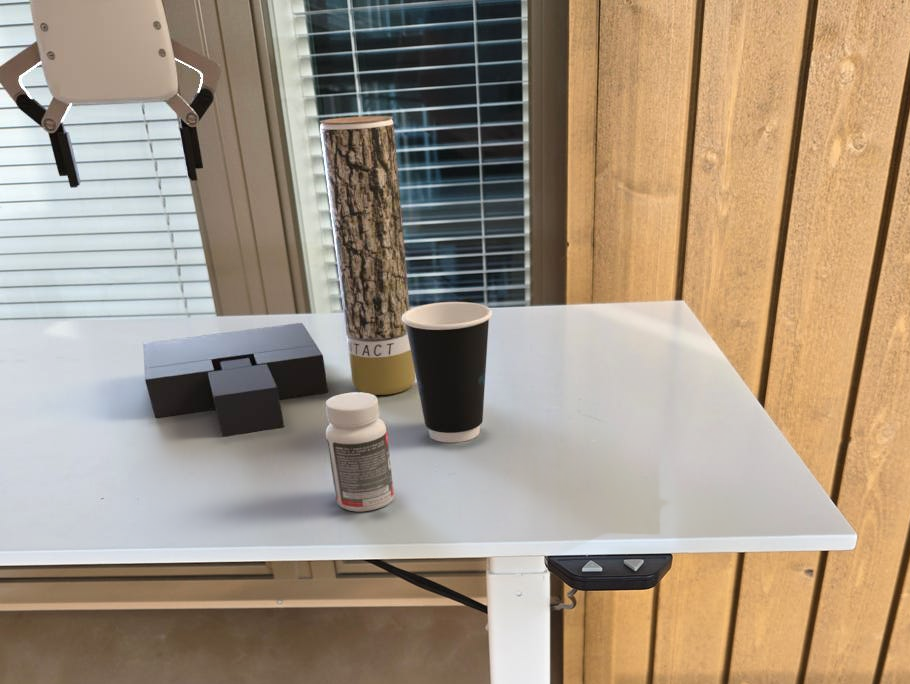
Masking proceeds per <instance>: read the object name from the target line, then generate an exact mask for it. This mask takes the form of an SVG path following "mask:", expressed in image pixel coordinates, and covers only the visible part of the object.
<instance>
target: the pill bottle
mask: <svg viewBox="0 0 910 684" xmlns="http://www.w3.org/2000/svg"><path fill="white" fill-rule="evenodd" d="M379 406H380V405H379V400H378V397H377V395H372V394H369V393H362V392H360V391H357V392H356V391H355V392H346V393H340V394H336V395H334V396H332V397H329V398H328V399H327V400H326V401H325V411H326V419H327V421H328V423H329V424H328V425H327V427H326V429H325V439H326V444H327V450H328V457H329V463H330V469H331V476H332V482H333V487H334V494H335V495H334V496H335V502H336V503H337V505H338V506H339V507H341V508H342V509H344V510H346V511H350V512H356V513H357V512H360V513H361V512H370V511H375V510H379V509H382V508H384V507H386V506H387V505H389V504H390V503H391V502H392V501H393V499H394V497H395V490H394V482H393V474H392V473H393V472H392V466H391V465H392V464H391V457H390V449H389V440H388V439H389V438H388V430H387V426H386V423H385V422H384V421H383V420H382V419H381V418H380V415H381V414H380V408H379Z"/></svg>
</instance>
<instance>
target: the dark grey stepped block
mask: <svg viewBox="0 0 910 684" xmlns="http://www.w3.org/2000/svg"><path fill="white" fill-rule="evenodd" d="M220 364H221V369H222V370H220V371H213V372H208V377H209V381H210V386H211V390H212V395H213V399H214V404H215V408H216V409H215V412H216V416H217V421H218V424H219V425H218V426H219V428H220V432H221V436H222V437H229V436H236V435H242V434H247V433H255V432H260V431H266V430H272V429H273V430H274V429H281V428H285V423H284V417H283V412H282V406H281V401H280V400H281V399H279V394H278V389H277V386H276V384H275V381H274V379H273V377H272V375H271V372H270V370H269V368H268V366H267V364H262V365H255V366H252V364H251V362H250V359H249V358H245V359H238V360H230V361H223V362H220Z"/></svg>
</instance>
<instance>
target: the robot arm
mask: <svg viewBox="0 0 910 684" xmlns="http://www.w3.org/2000/svg"><path fill="white" fill-rule="evenodd" d="M29 8H30V13H31V19H32V24H33V29H34V30H33V31H34V34H35V39H36V40H35V41H34V42H33V43H32V44H29V45H28V46H27V47H25V48H24V49H23V50H21V51H20V52H18V53H17V54H16V55H14V56H12V57H11V58H9V60H7V61H5V62H4V63H2V64H1V65H0V85H1V86H2V88H3V89H4V90H5V92H6V93H7V95H9V97H10V98H11V99H12V101H13V102H14V103H15V105H16V107H17V108H18V109H19V110H20V111H21V112H22V113H24V115H26V116H28V117H29V119H31V120H32V121H34V123H36V124H37V125H39V126H40V127H41V128H42V130H43V131H45V132H46V133H47V134H48V137H49V141H50V145H51V150H52V153H53V157H54V161H55V165H56V169H57V172H58V176H59V177H67V179H68V184H69V187H70V188H71V189H72V188H73V189H75V188H78V187H79V186H80V185H81V177H80V173H79V170H78V165H77V161H76V157H75V156H76V155H75V152H74V148H73V144H72V141H71V140H72V139H71V135H70V133H69V132H68V131H67V130H66V129H65V125H64V122H63V121H64V119H65V117H66V116H67V114H68V111H69V110H70V108H71V106H72V105H109V104H111V105H112V104H134V103H136V104H137V103H155V102H157V103H158V102H164V103H165V104H167V106H168V107H169V108H170V109H171V110H172V111H173V112H174V113H175V114H176V115H177V116H178V117H179V124H180V126H178V133H179V137H180V138H179V139H180V145H181V148H182V149H181V150H182V156H183V161H184V166H185V171H186V176H187V179H188V180H190V181H192V182H194V181H198V174H197V170H198V169H204V164H203V158H202V152H201V147H200V141H199V135H198V128H197V126H198V125H199V124H200V123H199V122H200V121H201V119H202V118H203V116H204V115H205V114H206V113H207V111H208V110H209V108H210V107H211V105H212V104H213V103H214V98H215V94H216V91H217V89H218V85H219V81H220V78H221V74H222V67H221V65H220V63H218V62H216V61H215V60H212V59H211V58H209V57H207V56H206V55H203V54H201V53H199V52H197V51H195V50H194V49H192V48H190V47H188V46H187V45H184V44H182V43H181V42H178V41H176V40H175V39H173V38H171V35H170V29H169V25H168V21H167V16H166V11H165V9H164V4H163V0H29ZM176 61H178V62H180V63H182V64H184V65H186V66H188V67H189V68H192V69H194V70H195V71H197V72H198V73H199V74H200V77H201V79H200V84H199V88H198V90H197V91H196V94H195V95H194V97H192V100H191V101H190V102H189V104H188V102H186V101H185V99H184V98H183V97H182V96H181V95H180V94H179V93H178V90H179V80H178V72H177V71H178V70H177V64H176ZM40 64H41V67H42V71H43V75H44V78H45V82H46V85H47V88H48V91H49V92H50V93H49V94H51V96H52V98H51V101H50V103H49V105H48V107H47V108H45V107H44V106H43V105H42V104H40V103H39V101H37V100H36V99H35V98H33V97H32V96H31V95H30V93H29V91H27V90H26V88H25V86H24V85H23V83H22V78H23V76H25V75H26V74H28V72H31V70H33V69H34V68H36V67H37V66H39V65H40Z"/></svg>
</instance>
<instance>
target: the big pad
mask: <svg viewBox="0 0 910 684" xmlns="http://www.w3.org/2000/svg"><path fill="white" fill-rule="evenodd" d="M142 346H143V363H144V365H143V366H144V381H145V384H146V388H147V392H148V396H149V400H150V403H151V408H152V411H153V415H154V418H155V419H158V418H166V417H172V416H179V415H185V414H193V413H199V412H205V411H211V410H212V411H213V410H216V408H215V404H214V399H213V395H212V390H211V386H210V381H209V377H208V372H213V371H220V370H222V369H221V364H220V362H223V361H230V360H238V359H245V358H249V359H250V362H251V364H252V366H255V365H262V364H267V366H268V368H269V370H270V372H271V375H272V377H273V379H274V381H275V384H276V386H277V389H278V394H279V400H286V399H292V398H298V397H304V396H305V397H306V396H311V395H318V394H325V393H329V388H328V381H327V373H326V366H325V359H324V354H323V353H322V352H321V350H320V349H319V347H318V345H317V343H316V342H315V340H314V339H313V337H312V336H311V334H310V332H309V331H308V330H307V328H306V326H305V325H304V323H303V322H297V323H290V324H281V325H273V326H265V327H257V328H249V329H243V330H242V329H241V330H236V331H228V332H220V333H219V332H218V333H212V334H211V333H210V334H204V335H197V336H189V337H182V338H181V337H180V338H175V339H174V338H173V339H167V340H158V341H152V342H151V341H149V342H143V345H142Z"/></svg>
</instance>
